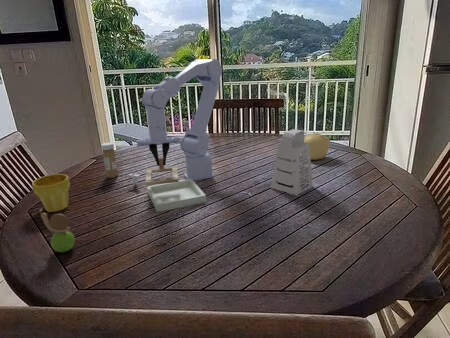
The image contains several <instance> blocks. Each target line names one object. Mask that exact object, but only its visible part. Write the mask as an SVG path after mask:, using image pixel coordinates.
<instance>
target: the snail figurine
mask: <svg viewBox="0 0 450 338" xmlns="http://www.w3.org/2000/svg"><path fill="white" fill-rule="evenodd" d="M38 212H39V213H40V217H41V219H42V221H43V223H44V225H45V227H46V228H47V229H48V230H49V231H51V232H53V233H54V234H53V235H52V236H51V238H50V245H51V248H52V249H53V250H54V251H56V252H57V253H65V252H69V251H70V250H71V249H72V248H73V247H74V244H75V235H74V233H72V232H71V231H69V230H70V229H71V226H69V223H70V221H69V218H68V217H67V216H66V215H65V214H63V213H54V214H53V215H51V217H50V219H49V218H48V213H46V212H43V208H39V210H38Z"/></svg>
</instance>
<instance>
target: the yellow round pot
mask: <svg viewBox="0 0 450 338" xmlns="http://www.w3.org/2000/svg"><path fill="white" fill-rule="evenodd" d="M304 143H309V150H310V160H312V161H313V160H320V159H323V158H325V157H326V155H327V154H328V152H329V148H330V137H328V136H325V135H323V134H321V133H319V132H315V133H308V134H304ZM302 154H303V153H302ZM305 156H306V154H305ZM307 156H308V153H307Z"/></svg>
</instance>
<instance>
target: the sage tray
mask: <svg viewBox="0 0 450 338" xmlns="http://www.w3.org/2000/svg"><path fill="white" fill-rule="evenodd" d="M146 186H147V187H146V189H147V191H146V192H147V194H148V197H149V198H150V201H151V203H152V205H153V208H154V209H155V211H156V213H162V212H166V211H171V210H176V209H181V208H186V207H191V206H195V205H200V204H205V203H207V195H206V194H205V192H204V191H203V190H202V189H201V188H200V187H199V185H197V183H196V182H195V181H193V180H192V179H187V178H186V179H181V180H180V179H179V182H174V183H164V184H154V185H146Z"/></svg>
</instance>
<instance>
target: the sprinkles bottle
mask: <svg viewBox="0 0 450 338" xmlns="http://www.w3.org/2000/svg"><path fill="white" fill-rule="evenodd" d="M114 145H115V144H114V143H113V142H109V141H108V142H104V143H101V145H100V146H101V151H102V156H103V163H104V168H105V173H106V177H107V178H109V179H113V178H116V177H118V176H119V173H118V172H119V171H118V166H117V161H116V154H115V149H114V148H115V146H114Z"/></svg>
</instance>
